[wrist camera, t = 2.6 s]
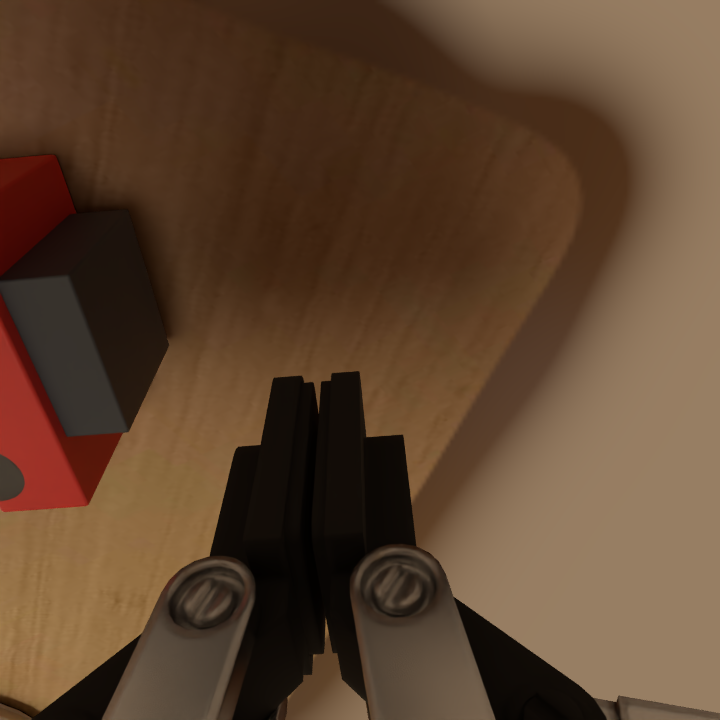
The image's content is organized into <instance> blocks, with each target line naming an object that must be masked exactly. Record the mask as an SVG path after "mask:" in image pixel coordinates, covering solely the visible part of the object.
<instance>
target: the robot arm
mask: <svg viewBox="0 0 720 720" xmlns="http://www.w3.org/2000/svg"><path fill="white" fill-rule="evenodd" d="M325 620H327V625H328V631H329V636H330V641H331V646H332V651H333V653H338V659H339V664H340V670H341V676H342V680H343V681H345V682H346V683H347V684H348V685H349V686H350V687H351V688H352V689H353V690H354V691H355V692H356V693H357V694H358V695H360V697H361V698H363V699H364V700H365V701H366V707H367V713H368V718H369V720H720V713H715V712H709V711H704V710H697V709H692V708H686V707H681V706H675V705H669V704H663V703H658V702H652V701H646V700H641V699H635V698H629V697H623V696H618V699H617V702H613V701H607V700H601V699H596V698H593V697H591V696H590V695H589V694H588V693H587V692H586V691H585V690H584V689H583V688H582V687H580V686H579V685H578V684H576V683H575V682H574V681H572V680H571V679H569V678H568V677H566V676H565V675H564V674H562V673H561V672H559V671H558V670H557V669H555V668H554V667H552V666H551V665H550V664H548V663H547V662H545V661H544V660H542V659H541V658H540V657H538V656H537V655H535V654H534V653H533V652H531V651H530V650H528V649H527V648H525V647H524V646H523V645H521V644H520V643H518V642H517V641H516V640H514V639H513V638H511V637H510V636H508V635H507V634H506V633H504V632H503V631H501V630H500V629H498V628H497V627H496V626H494V625H493V624H491V623H490V622H489V621H487V620H486V619H484V618H483V617H482V616H480V615H478V614H477V613H476V612H475V611H473V610H472V609H470V608H469V607H467V606H466V605H465V604H463V603H462V602H460V601H459V600H457V599H456V598H455V597H453V594H452V591H451V588H450V585H449V582H448V579H447V577H446V574H445V572H444V570H443V569H442V567H441V565H440V563H439V561H438V560H436V559H435V558H434V557H433V556H432V555H431V554H430V553H429V552H426V551H425V550H423V549H421V548H419V547H417V546H416V540H415V531H414V523H413V515H412V505H411V497H410V488H409V480H408V471H407V463H406V454H405V445H404V437H403V435H392V436H379V437H366V430H365V420H364V410H363V400H362V390H361V380H360V372H359V371H355V372H342V373H332V375H331V381H322V382H321V392H320V406H319V413H318V406H317V400H316V393H315V387H314V383H313V382H308V383H304V380H303V377H302V376H290V377H278V378H274V379H273V382H272V387H271V393H270V398H269V403H268V408H267V414H266V419H265V424H264V430H263V435H262V440H261V445H256V446H242V447H238V448H237V449H236V451H235V453H234V457H233V461H232V465H231V469H230V473H229V478H228V482H227V486H226V490H225V494H224V498H223V503H222V507H221V511H220V515H219V519H218V523H217V527H216V532H215V536H214V540H213V544H212V548H211V552H210V557H206V558H203V559H200V560H197V561H194V562H192V563H191V564H189V565H187V566H185V567H184V568H182V569H181V570H179V571H178V572H177V573H176V574H175V575H174V576H173V577H172V578H171V579H170V580H169V581H168V583H167V585H166V586H165V588H164V589H163V591H162V592H161V594H160V597H159V599H158V601H157V603H156V605H155V607H154V609H153V611H152V614H151V616H150V618H149V620H148V622H147V624H146V626H145V629H144V631H143V633H142V634H141V635H139V636H138V637H137V638H136V639H134V640H133V641H132V642H130V643H129V644H128V645H126V646H125V647H124V648H123V649H121V650H120V651H119V652H117V653H116V654H115V655H114V656H112V657H111V658H110V659H108V660H107V661H106V662H105V663H103V664H102V665H101V666H99V667H98V668H97V669H96V670H94V671H93V672H92V673H90V674H89V675H88V676H87V677H85V678H84V679H83V680H81V681H80V682H79V683H77V684H76V685H75V686H74V687H72V688H71V689H70V690H68V691H67V692H66V693H65V694H63V695H62V696H61V697H59V698H58V699H57V700H56V701H54V702H53V703H52V704H50V705H49V706H48V707H47V708H45V709H44V710H43V711H41V712H40V713H39V714H38V715H36V716H35V717H34V718H32V719H31V720H285V717H286V712H287V701H288V699H287V697H288V696H289V695H290V694H291V693H292V692H293V691H294V690H295V689H296V688H297V687H298V686H299V685H300V684H301V683H302V682H303V675H312V665H313V654H323V653H324V646H325Z"/></svg>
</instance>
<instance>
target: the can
mask: <svg viewBox="0 0 720 720" xmlns="http://www.w3.org/2000/svg"><path fill="white" fill-rule="evenodd" d="M31 719H32V718H31V717H29V716H27V715H26V714H24V713H22V712H21V711H19V710H16V709H14V708H11V707H8V706H5V705H3V704H0V720H31Z"/></svg>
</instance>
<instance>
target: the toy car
mask: <svg viewBox="0 0 720 720" xmlns="http://www.w3.org/2000/svg"><path fill="white" fill-rule="evenodd" d="M168 347H169V343H168V340H167V336H166V333H165V330H164V326H163V323H162V320H161V317H160V313H159V310H158V307H157V303H156V300H155V297H154V293H153V290H152V287H151V284H150V280H149V277H148V274H147V270H146V267H145V264H144V261H143V257H142V254H141V251H140V247H139V244H138V241H137V238H136V234H135V231H134V228H133V224H132V221H131V218H130V215H129V211H128V210H126V209H124V210H113V211H101V212H90V213H78V214H76V211H75V208H74V205H73V202H72V199H71V197H70V194H69V191H68V188H67V185H66V183H65V180H64V177H63V174H62V171H61V168H60V166H59V163H58V160H57V157H56V156H55V155H52V154H51V155H40V156H29V157H18V158H7V159H0V509H1V511H3V512H11V511H24V510H38V509H52V508H66V507H80V506H87V505H88V504H89V503H90V500H91V498H92V496H93V494H94V492H95V490H96V488H97V486H98V484H99V482H100V480H101V477H102V475H103V473H104V471H105V469H106V467H107V465H108V463H109V461H110V459H111V457H112V454H113V452H114V450H115V448H116V446H117V444H118V442H119V440H120V438H121V436H122V434H123V433H125V432H129V430H130V428H131V426H132V424H133V422H134V419H135V417H136V415H137V413H138V411H139V409H140V407H141V404H142V402H143V400H144V398H145V396H146V394H147V392H148V389H149V387H150V385H151V383H152V381H153V379H154V377H155V374H156V372H157V370H158V368H159V366H160V364H161V362H162V359H163V357H164V355H165V353H166V351H167V349H168Z"/></svg>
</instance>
